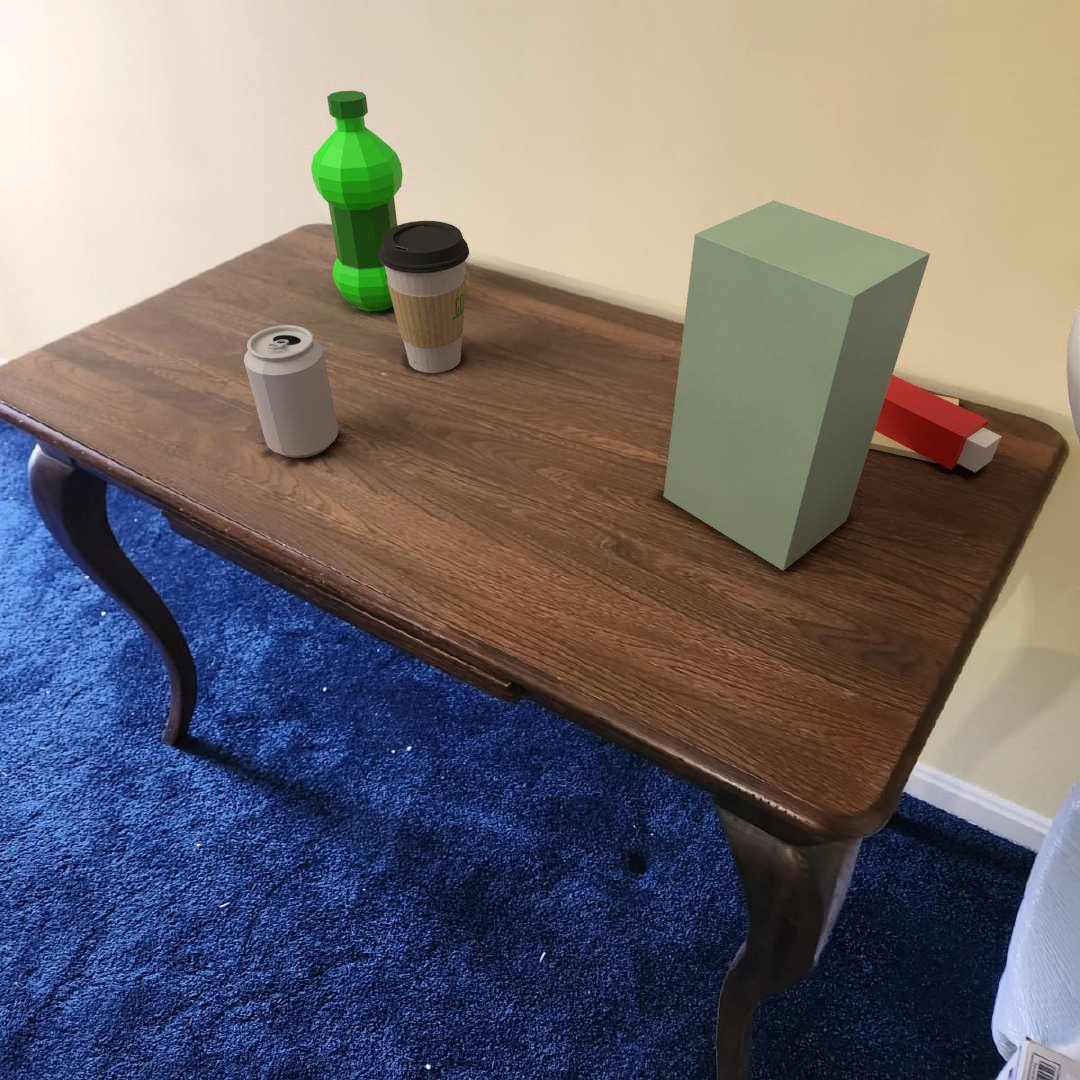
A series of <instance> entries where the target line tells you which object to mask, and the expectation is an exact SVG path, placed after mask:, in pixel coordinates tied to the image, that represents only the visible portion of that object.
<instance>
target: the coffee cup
mask: <svg viewBox="0 0 1080 1080" xmlns="http://www.w3.org/2000/svg"><path fill="white" fill-rule="evenodd" d="M463 236H464V235H463V233H462V231H461V230H460V229H459V227H457V226H455V225H453V224H452V223H448V222H444V221H437V220H416V221H409V222H404V223H401V224H397V226H395V227H393V228H391V229H390V230H388V231H387V232H386V233H385V234H384V236H383V242H382V245H381V247H380V249H379V259H380V262H381V263H382V264H383V265H385V269H386V273H387V277H388V279H387V284H388V288H389V291H390V295H391V299H392V303H393V306H392V307H393V310H394V314H395V319H396V323H397V326H398V331H399V335H400V337H401V339H402V341H403V345H404V348H405V352H406V357H407V361H408V364H409V365H410V367H411V368H413V369H414V370H416V371H418V372H422V373H427V374H438V373H444V372H448V371H450V370H452V369H454V368H456V367H457V366H458V365H459V363H460V362H461V358H462V341H463V339H462V337H463V333H464V322H465V303H466V301H465V300H466V283H467V277H466V261H467V259H468V258H469V256H470V247H469V245H468V243H467V241H466V239H465V238H464V237H463Z"/></svg>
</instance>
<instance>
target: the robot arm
mask: <svg viewBox="0 0 1080 1080" xmlns="http://www.w3.org/2000/svg"><path fill="white" fill-rule="evenodd" d="M1065 366H1066V367H1065V368H1066V369H1065V370H1066V371H1065V372H1066V383H1067V384H1066V385H1067V394H1068V402H1069V403H1068V404H1069V407H1070V408H1069V409H1070V411H1071V415H1072V416H1071V417H1072V421H1073V425H1074V429H1075V432H1076V435H1077V439H1078V441H1079V443H1080V304H1079V305H1078V307H1077V308H1076V310H1075V312H1074V316H1073V318H1072V321H1071V324H1070V327H1069V332H1068V337H1067V341H1066V365H1065Z"/></svg>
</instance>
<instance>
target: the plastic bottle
mask: <svg viewBox="0 0 1080 1080" xmlns="http://www.w3.org/2000/svg"><path fill="white" fill-rule="evenodd" d="M326 98H327V105H328V111H329V115H330V116H331V117H332V118H334V120H335V126H336V129H335V130H334V131H333V132H332V133H331V134H330V135H329V137H328V138H327V139H326V140H325V141H324V142H323V143H322V145H321V146H320V147H319V148H318V149H317V151H316V152H315V153H314V155H313V156H312V161H311V166H310V169H311V176H312V180H313V183H314V185H315V187H316V191H317V192H318V194H319V195H320V196H321V197H322V199H323V200H325V201H326V202H327V203H328V211H329V215H330V222H331V227H332V228H331V229H332V234H333V239H334V245H335V252H336V259H335V260H334V261H335V262H334V264H333V268H332V279H333V283H334V284H335V286H336V288H337V289H338V290H339V292H340V293H341V295H342V297H343V298H344V299H345V300H346V301H347V302H348V303H350V304H351V305H353V306H355V307H357V308H358V309H359V310H362V311H366V312H368V313H369V312H370V313H371V312H382V311H386V310H388V309H389V308H392V307H393V303H392V299H391V295H390V291H389V288H388V284H387V279H388V277H387V273H386V269H385V265H383V264H382V263H381V262H380V259H379V249H380V247H381V245H382V242H383V236H384V234H385V233H386V232H387V231H388V230H390V229H391V228H393V227H395V226H398V219H397V210H396V202H395V201H396V200H395V196H396V194H397V193H398V192H399V190H400V189H401V187H402V185H403V167H402V162H401V160H400V158H399V156H398V154H397V152H396V151H395V150H394V149H393V148H392V147H391V146H390V145H389V144H388V143H386V142H385V141H384V140H383V139H382V138H381V137H379V135H377V134H376V133H375V132H374V131H372V130H371V129H369V128H367V127H366V123H365V116H366V115H367V114H368V113H369V108H368V101H367V95H366V94H365V93H364V92H363V91H357V90H340V91H336V92H332V93H331V92H330V94H328V95H327V96H326Z"/></svg>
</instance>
